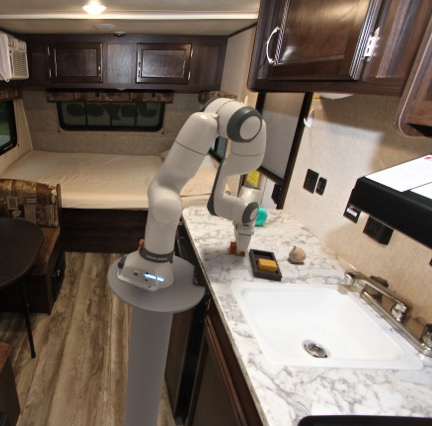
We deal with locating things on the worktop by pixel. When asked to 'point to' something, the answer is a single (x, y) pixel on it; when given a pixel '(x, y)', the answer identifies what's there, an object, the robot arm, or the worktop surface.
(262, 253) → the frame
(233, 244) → the orange-red rectangular block
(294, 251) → the garlic bulb
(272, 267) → the yellow-orange rectangular block
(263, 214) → the turquoise spool
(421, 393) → the worktop surface
